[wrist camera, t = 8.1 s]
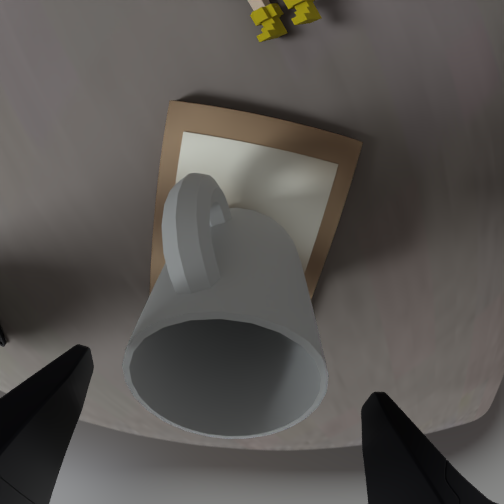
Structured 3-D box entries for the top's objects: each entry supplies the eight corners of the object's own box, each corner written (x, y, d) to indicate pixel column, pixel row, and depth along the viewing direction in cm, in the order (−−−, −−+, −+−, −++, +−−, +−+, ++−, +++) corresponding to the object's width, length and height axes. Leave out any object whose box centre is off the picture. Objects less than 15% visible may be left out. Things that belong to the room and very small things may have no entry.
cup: (196, 321, 20) (171, 441, 12) (140, 174, 15) (45, 251, 8) (307, 302, 19) (332, 425, 11) (275, 139, 15) (301, 185, 7)
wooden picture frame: (291, 334, 22) (292, 347, 21) (153, 310, 21) (148, 321, 20) (355, 139, 16) (363, 142, 15) (175, 100, 15) (169, 100, 14)
